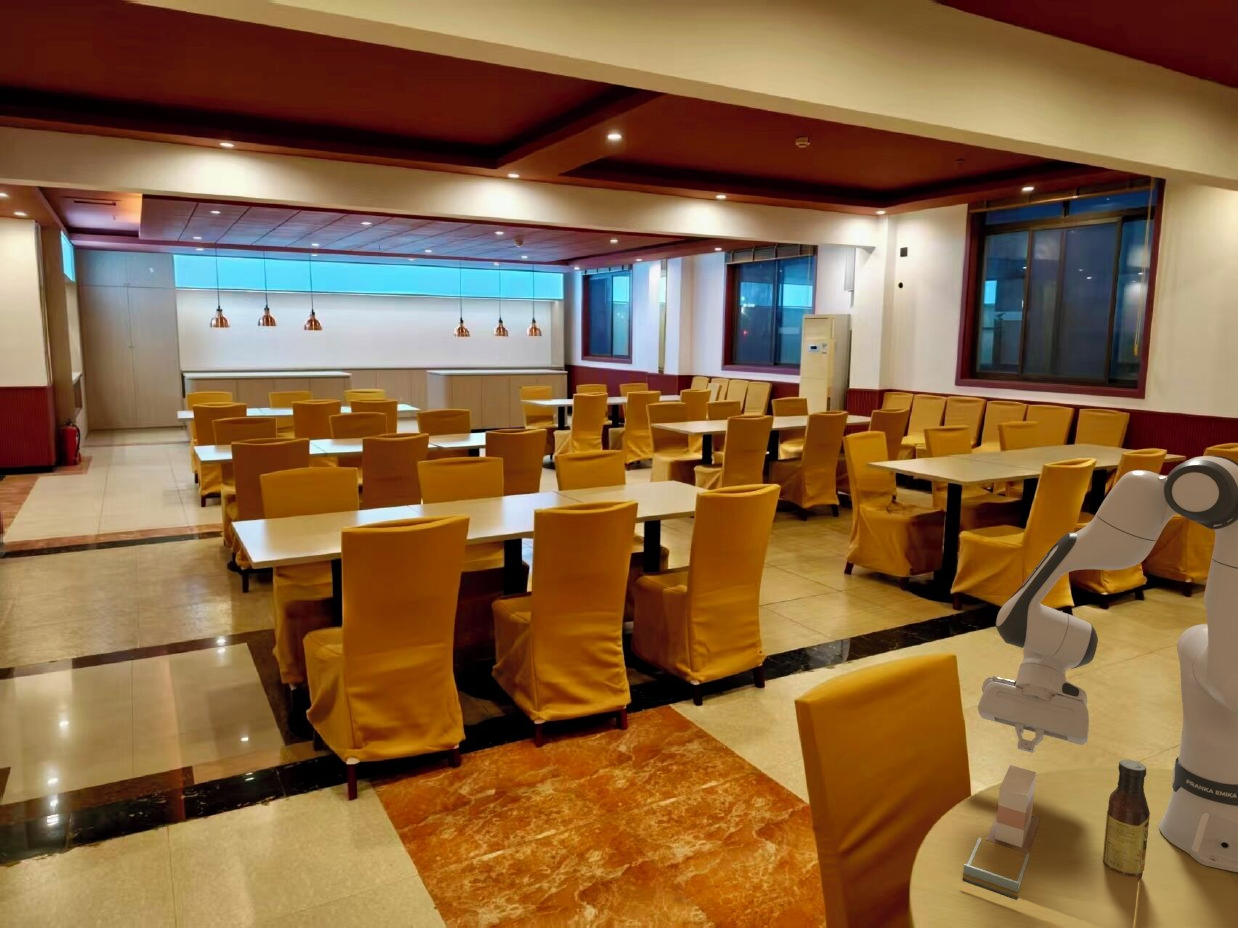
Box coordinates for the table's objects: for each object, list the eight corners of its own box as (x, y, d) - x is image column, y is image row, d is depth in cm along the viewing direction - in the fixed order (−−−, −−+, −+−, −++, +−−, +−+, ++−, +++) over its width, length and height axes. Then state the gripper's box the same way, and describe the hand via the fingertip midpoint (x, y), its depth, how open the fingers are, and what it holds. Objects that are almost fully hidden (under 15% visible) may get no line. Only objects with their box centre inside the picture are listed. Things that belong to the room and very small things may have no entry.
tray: (1029, 861, 150) (1030, 846, 150) (1016, 900, 140) (1018, 883, 140) (978, 844, 155) (979, 829, 155) (962, 880, 145) (964, 864, 144)
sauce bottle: (1149, 886, 144) (1162, 777, 141) (1108, 881, 145) (1121, 773, 142) (1134, 863, 151) (1147, 758, 147) (1095, 858, 152) (1107, 754, 149)
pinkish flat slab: (1039, 825, 162) (1040, 818, 161) (1027, 861, 151) (1028, 853, 150) (999, 813, 166) (1000, 806, 165) (985, 847, 154) (986, 839, 154)
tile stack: (1031, 821, 160) (1036, 772, 159) (1021, 847, 152) (1027, 795, 150) (1005, 813, 163) (1010, 764, 161) (994, 838, 155) (999, 787, 153)
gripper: (984, 667, 179) (968, 728, 172) (1094, 693, 167) (1082, 759, 161) (986, 680, 183) (971, 740, 177) (1094, 707, 172) (1082, 772, 165)
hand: (1025, 749), depth 169 cm, fingers closed
